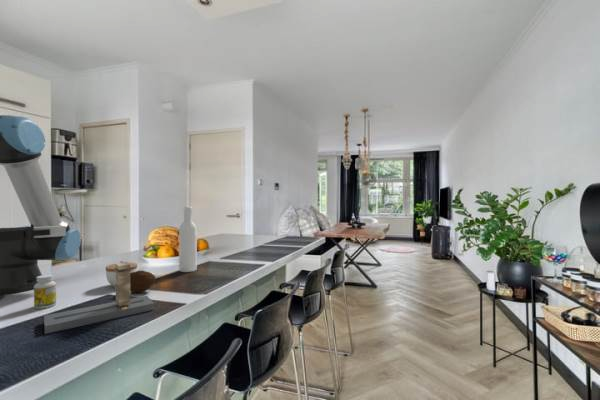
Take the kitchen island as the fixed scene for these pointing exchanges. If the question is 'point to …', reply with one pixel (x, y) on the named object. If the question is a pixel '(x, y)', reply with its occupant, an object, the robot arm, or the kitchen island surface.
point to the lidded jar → (112, 272)
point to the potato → (141, 281)
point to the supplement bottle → (44, 292)
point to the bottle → (187, 243)
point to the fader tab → (122, 283)
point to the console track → (95, 314)
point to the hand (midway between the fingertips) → (65, 230)
